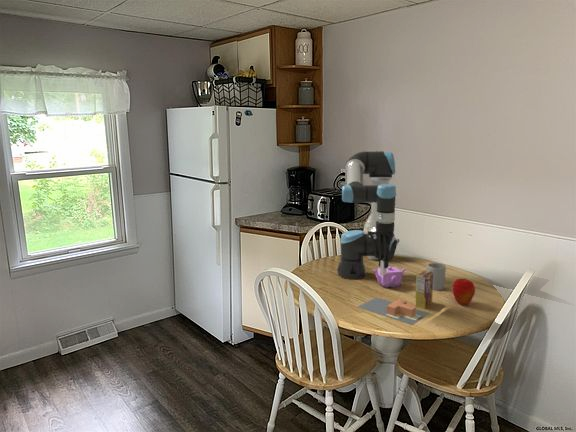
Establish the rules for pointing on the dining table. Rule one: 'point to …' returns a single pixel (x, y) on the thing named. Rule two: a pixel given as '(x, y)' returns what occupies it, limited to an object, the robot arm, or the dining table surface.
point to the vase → (367, 227)
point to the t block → (401, 308)
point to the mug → (437, 275)
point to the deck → (381, 308)
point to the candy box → (424, 289)
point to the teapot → (390, 277)
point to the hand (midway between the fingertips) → (383, 274)
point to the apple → (463, 291)
